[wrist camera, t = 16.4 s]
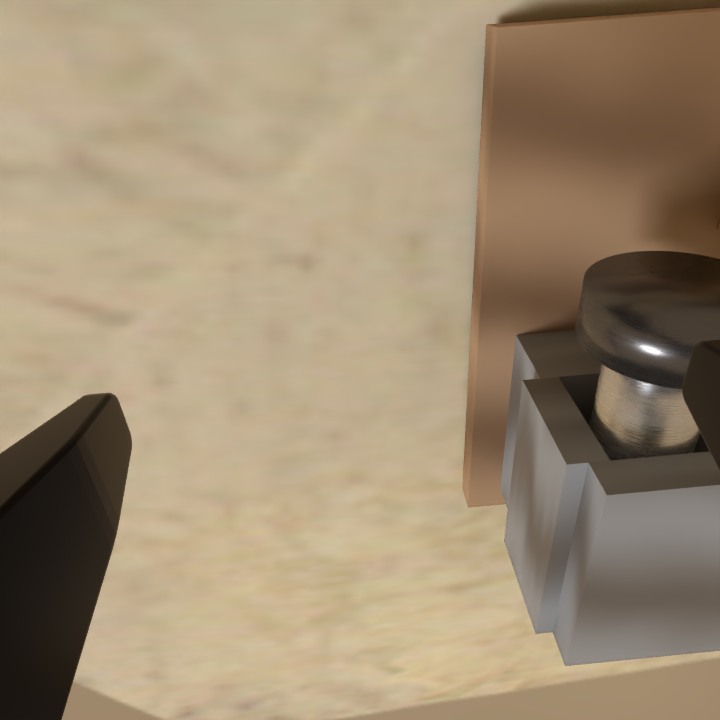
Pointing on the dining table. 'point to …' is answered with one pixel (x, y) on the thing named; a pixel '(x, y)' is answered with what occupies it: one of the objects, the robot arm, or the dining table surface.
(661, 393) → the shaft
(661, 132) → the shaft stand
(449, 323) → the dining table surface
